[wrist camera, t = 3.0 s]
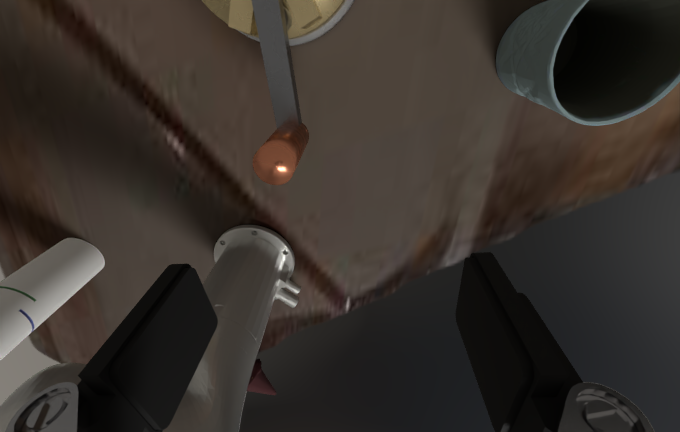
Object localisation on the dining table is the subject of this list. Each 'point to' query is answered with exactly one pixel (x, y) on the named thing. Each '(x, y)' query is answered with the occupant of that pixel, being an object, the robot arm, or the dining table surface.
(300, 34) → the crank handle mechanism
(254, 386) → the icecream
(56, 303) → the cylindrical container
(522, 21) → the grey green cup
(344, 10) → the plate
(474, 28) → the dining table surface
